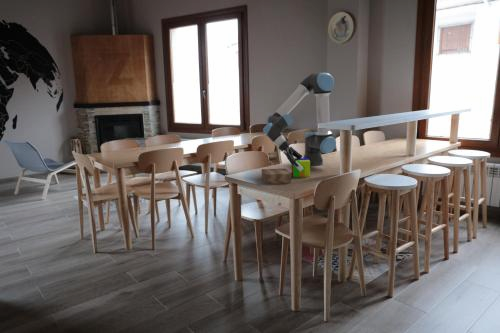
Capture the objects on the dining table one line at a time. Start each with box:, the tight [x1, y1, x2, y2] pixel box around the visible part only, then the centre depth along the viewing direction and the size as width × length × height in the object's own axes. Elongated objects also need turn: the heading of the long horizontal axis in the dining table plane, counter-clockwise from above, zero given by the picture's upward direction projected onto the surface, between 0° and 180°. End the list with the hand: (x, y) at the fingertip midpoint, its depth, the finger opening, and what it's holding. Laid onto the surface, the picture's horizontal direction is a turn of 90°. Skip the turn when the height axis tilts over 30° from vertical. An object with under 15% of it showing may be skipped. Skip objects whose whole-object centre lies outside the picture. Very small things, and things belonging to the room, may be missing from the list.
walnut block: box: [261, 167, 292, 185], centre depth 240 cm, size 15×15×6 cm
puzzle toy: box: [291, 157, 311, 178], centre depth 253 cm, size 10×10×10 cm
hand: (304, 168), depth 252 cm, fingers open, 13 cm apart
